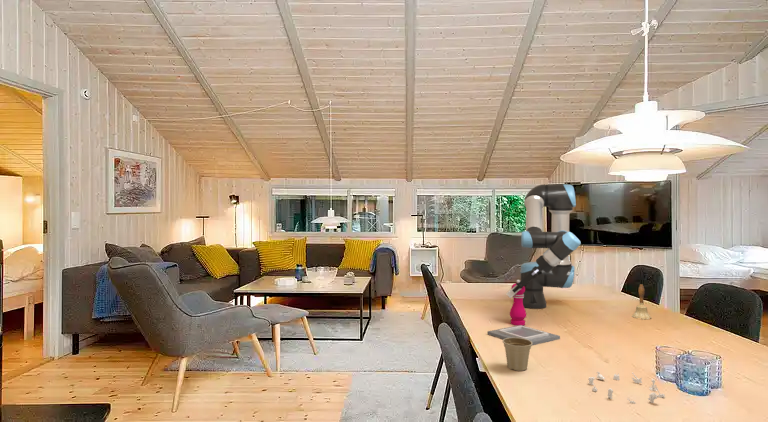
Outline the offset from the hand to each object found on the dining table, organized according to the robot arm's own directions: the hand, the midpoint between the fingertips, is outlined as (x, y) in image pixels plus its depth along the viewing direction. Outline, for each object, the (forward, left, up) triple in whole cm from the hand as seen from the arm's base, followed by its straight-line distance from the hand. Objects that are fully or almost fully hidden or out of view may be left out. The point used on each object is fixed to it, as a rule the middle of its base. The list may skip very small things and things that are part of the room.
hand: (510, 294), depth 211 cm
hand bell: (+25, +64, -13) cm, 70 cm away
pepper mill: (+3, +2, -13) cm, 14 cm away
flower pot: (+42, -43, -13) cm, 62 cm away
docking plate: (+18, -12, -13) cm, 25 cm away
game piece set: (+71, -31, -13) cm, 79 cm away
